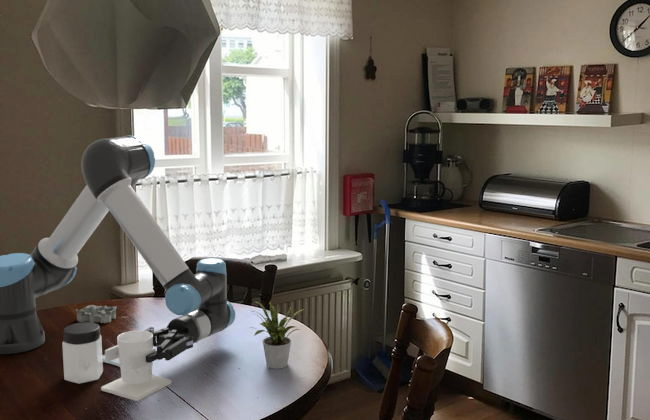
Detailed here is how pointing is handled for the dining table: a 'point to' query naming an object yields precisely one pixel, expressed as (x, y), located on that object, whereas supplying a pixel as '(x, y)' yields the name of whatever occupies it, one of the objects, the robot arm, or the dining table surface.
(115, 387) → the tile shorter
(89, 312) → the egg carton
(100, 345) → the jar
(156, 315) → the dining table surface
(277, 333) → the house plant
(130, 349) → the white cup
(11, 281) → the robot arm
